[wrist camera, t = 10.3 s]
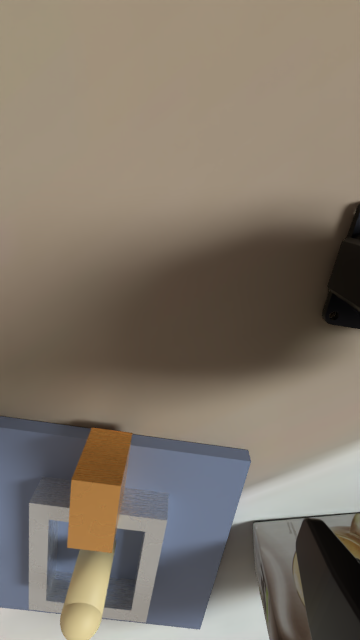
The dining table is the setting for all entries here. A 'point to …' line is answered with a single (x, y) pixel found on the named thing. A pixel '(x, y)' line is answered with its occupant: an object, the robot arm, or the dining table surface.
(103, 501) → the grey frame with tab
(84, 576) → the keeper
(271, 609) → the coffee box
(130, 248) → the dining table surface
